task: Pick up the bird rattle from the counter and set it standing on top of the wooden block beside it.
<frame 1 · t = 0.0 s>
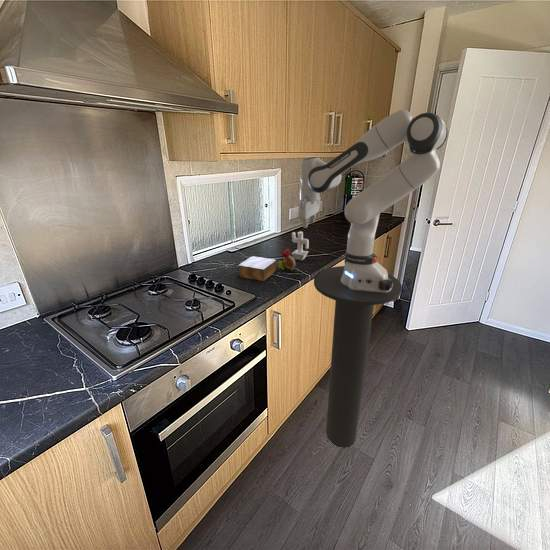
hand: (308, 225, 139), 22 cm above the worktop, tool pointing down, fingers open, 8 cm apart
figurine: (299, 258, 161), on the worktop
bird rattle: (287, 269, 147), on the worktop
wooden block: (258, 273, 142), on the worktop
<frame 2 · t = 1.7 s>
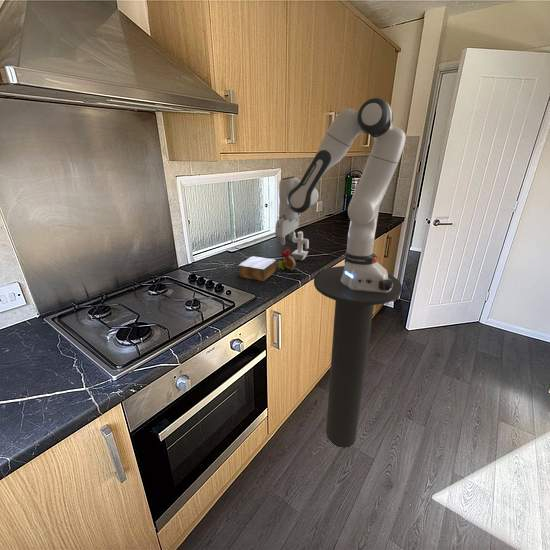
hand: (287, 241, 141), 14 cm above the worktop, tool pointing down, fingers open, 8 cm apart
nothing on the worktop moved.
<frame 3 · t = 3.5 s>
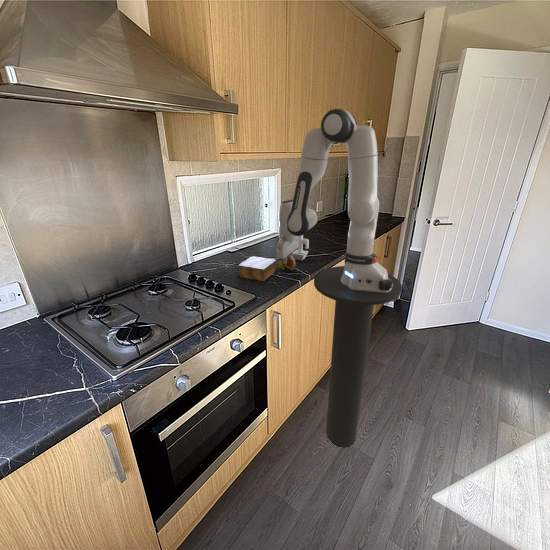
hand: (287, 261, 145), 4 cm above the worktop, tool pointing down, fingers closed on bird rattle, 4 cm apart
bird rattle: (287, 269, 147), on the worktop, touching gripper
everything else where it was.
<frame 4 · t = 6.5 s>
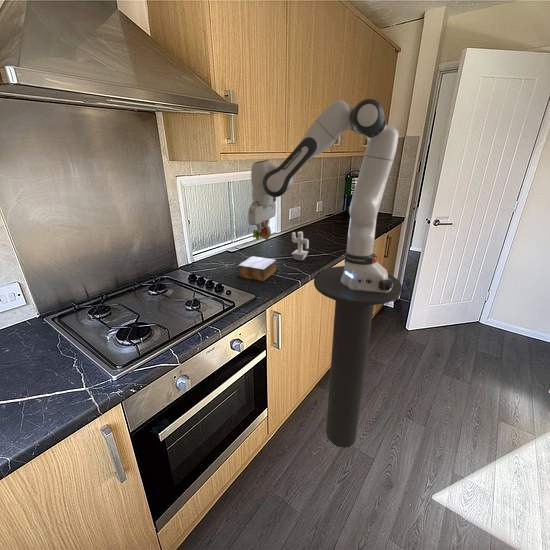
hand: (262, 230, 135), 21 cm above the worktop, tool pointing down, fingers closed on bird rattle, 4 cm apart
bird rattle: (262, 239, 136), point 17 cm above the worktop, touching gripper
everything else where it was.
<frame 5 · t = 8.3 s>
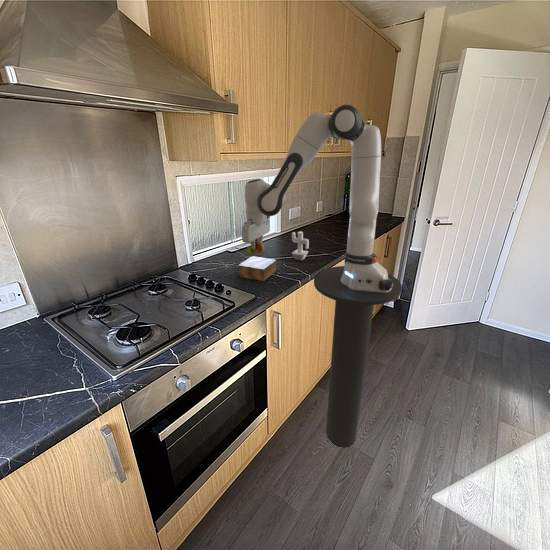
hand: (256, 246, 137), 14 cm above the worktop, tool pointing down, fingers closed on bird rattle, 4 cm apart
bird rattle: (256, 255, 138), point 9 cm above the worktop, touching gripper
everything else where it was.
when the fingers open (10 cm above the worktop, at t = 9.6 s): bird rattle stays where it is, resting on wooden block.
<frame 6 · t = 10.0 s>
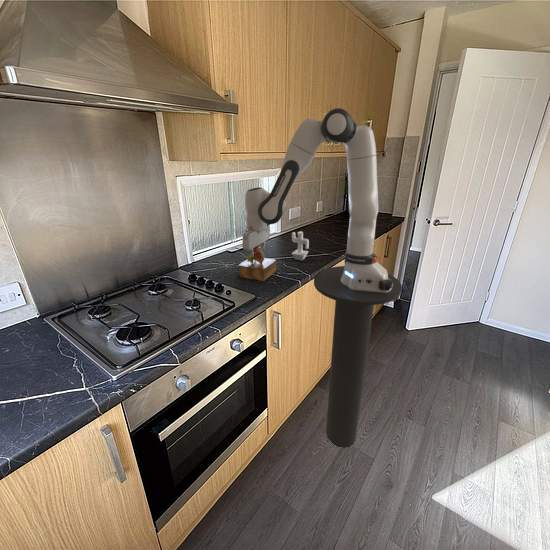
hand: (257, 253, 138), 10 cm above the worktop, tool pointing down, fingers open, 8 cm apart
bird rattle: (257, 262, 140), point 6 cm above the worktop, touching wooden block
everything else where it was.
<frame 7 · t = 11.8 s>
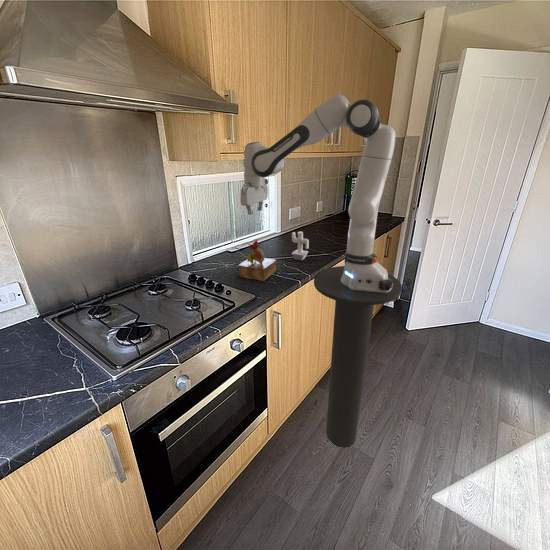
hand: (255, 212, 137), 28 cm above the worktop, tool pointing down, fingers open, 8 cm apart
nothing on the worktop moved.
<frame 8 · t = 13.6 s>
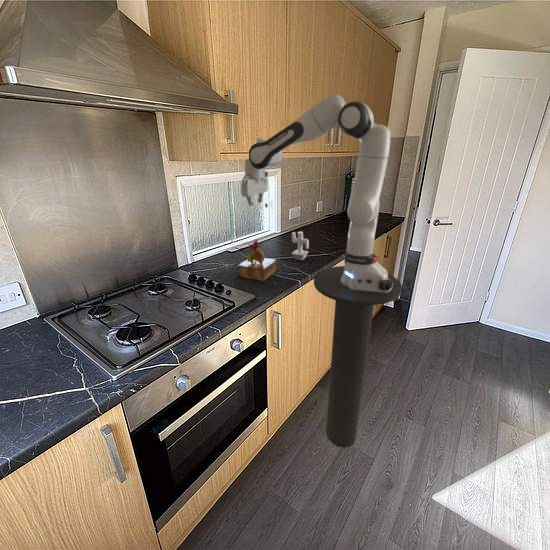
hand: (255, 203, 143), 31 cm above the worktop, tool pointing down, fingers open, 8 cm apart
nothing on the worktop moved.
at the end: bird rattle inside the target area on the wooden block (0.3 cm from its centre), point 5.8 cm above the wooden block's base; bird rattle tilted 2°; the gripper is holding nothing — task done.
